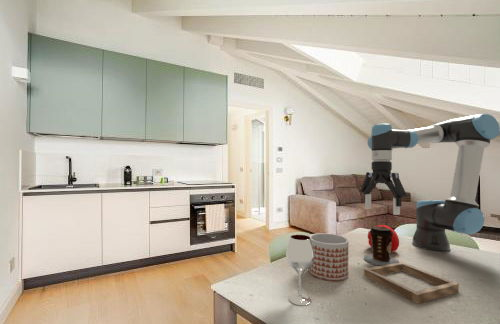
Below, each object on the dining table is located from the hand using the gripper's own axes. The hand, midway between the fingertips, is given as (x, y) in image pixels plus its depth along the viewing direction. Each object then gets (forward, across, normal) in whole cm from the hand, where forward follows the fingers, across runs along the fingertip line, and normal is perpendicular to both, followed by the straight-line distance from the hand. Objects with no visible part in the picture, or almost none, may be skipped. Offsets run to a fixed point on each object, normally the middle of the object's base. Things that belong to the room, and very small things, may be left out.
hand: (381, 211), depth 103 cm
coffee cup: (+20, 0, 0) cm, 20 cm away
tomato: (+21, -10, +13) cm, 26 cm away
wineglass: (+20, +14, -49) cm, 55 cm away
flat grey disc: (+20, 0, 0) cm, 20 cm away
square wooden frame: (+20, +18, -9) cm, 29 cm away
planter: (+20, +2, -29) cm, 36 cm away
